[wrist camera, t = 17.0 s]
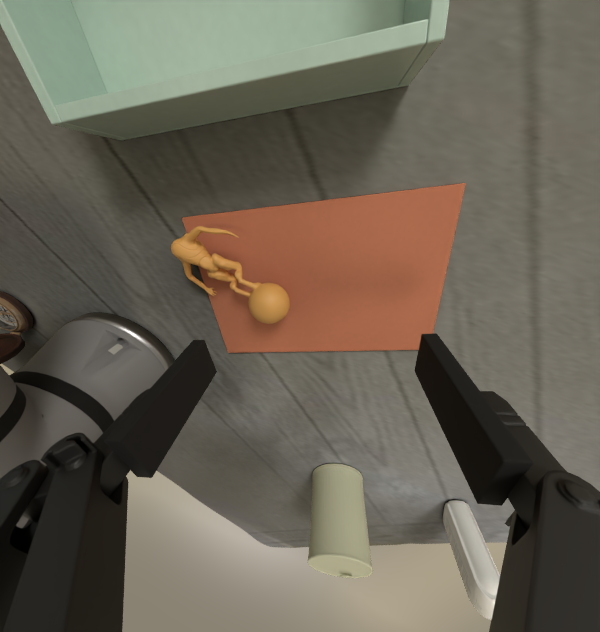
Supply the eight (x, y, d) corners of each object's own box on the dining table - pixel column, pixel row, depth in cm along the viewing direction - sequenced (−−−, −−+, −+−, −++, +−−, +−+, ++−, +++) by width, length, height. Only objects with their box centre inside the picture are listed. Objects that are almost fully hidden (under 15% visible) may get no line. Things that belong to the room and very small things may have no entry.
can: (325, 490, 44) (323, 582, 34) (304, 466, 41) (295, 561, 30) (369, 486, 41) (383, 584, 31) (351, 459, 38) (360, 561, 27)
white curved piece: (463, 522, 44) (506, 628, 34) (440, 521, 45) (474, 623, 35) (469, 498, 40) (520, 612, 29) (443, 498, 41) (483, 608, 30)
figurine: (316, 284, 20) (227, 192, 21) (275, 313, 16) (165, 196, 16) (277, 328, 26) (209, 255, 26) (239, 359, 21) (159, 271, 22)
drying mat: (229, 350, 29) (227, 352, 28) (183, 217, 21) (181, 217, 20) (428, 347, 25) (429, 349, 24) (463, 183, 17) (466, 182, 17)
